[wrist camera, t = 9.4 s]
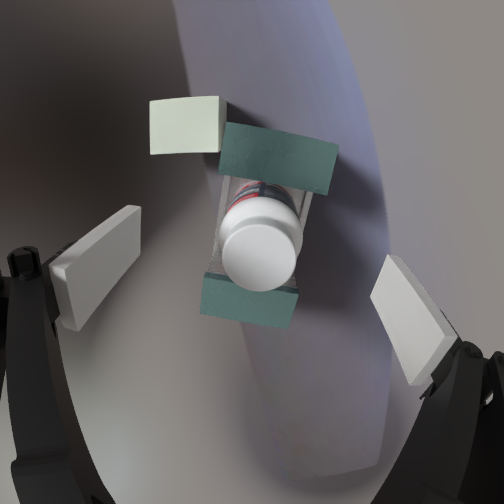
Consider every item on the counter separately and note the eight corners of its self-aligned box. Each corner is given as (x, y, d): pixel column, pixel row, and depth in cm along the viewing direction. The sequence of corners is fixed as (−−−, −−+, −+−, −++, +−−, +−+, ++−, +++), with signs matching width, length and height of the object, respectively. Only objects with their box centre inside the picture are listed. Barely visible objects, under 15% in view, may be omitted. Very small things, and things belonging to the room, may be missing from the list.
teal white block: (235, 124, 21) (222, 121, 15) (320, 141, 21) (343, 146, 15) (212, 267, 26) (196, 312, 20) (286, 281, 27) (291, 329, 20)
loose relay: (168, 104, 21) (150, 101, 17) (226, 101, 20) (218, 95, 17) (168, 149, 22) (150, 154, 19) (226, 148, 22) (217, 152, 18)
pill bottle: (256, 166, 21) (250, 189, 13) (307, 206, 23) (330, 251, 14) (217, 217, 23) (192, 267, 15) (267, 253, 24) (267, 316, 16)
